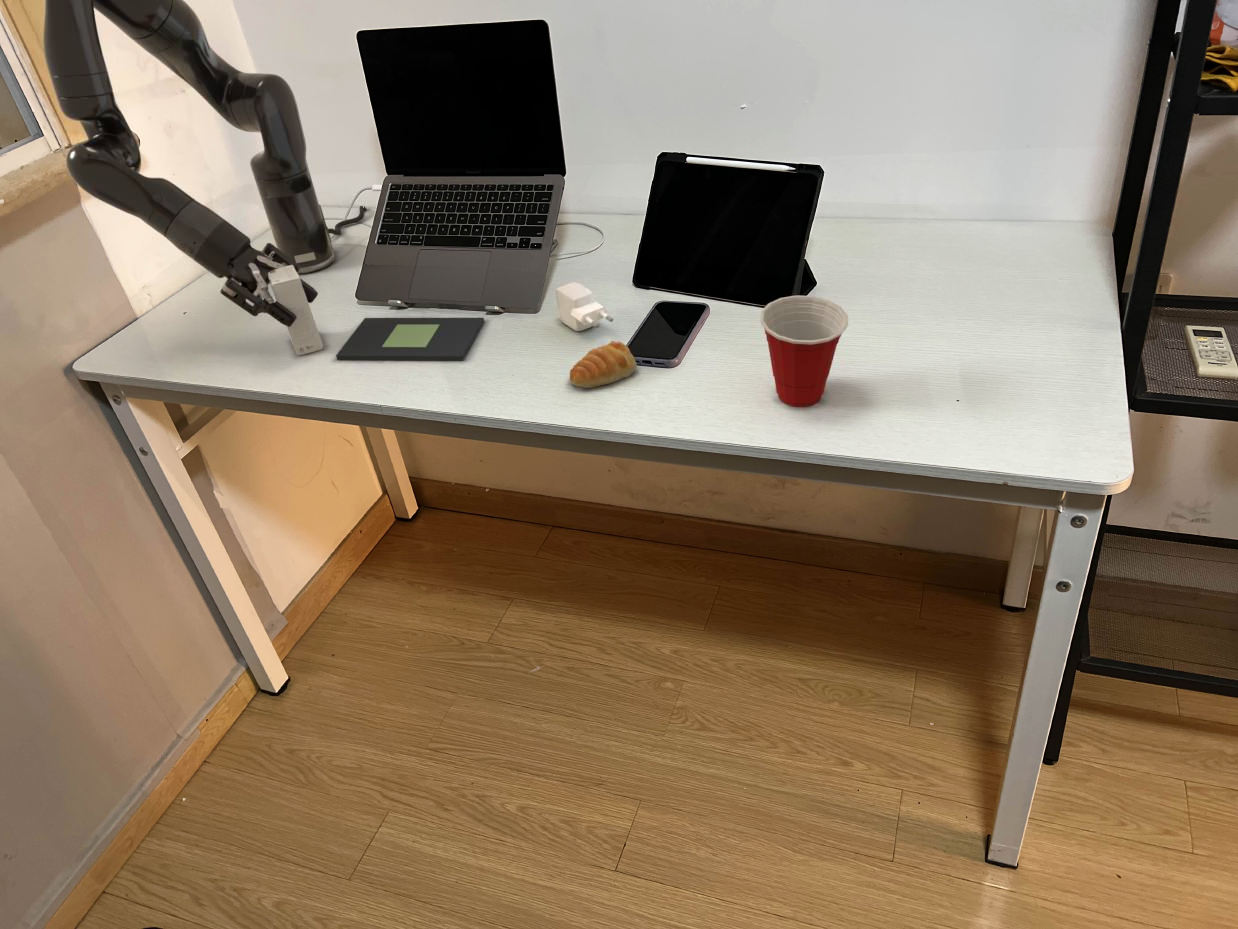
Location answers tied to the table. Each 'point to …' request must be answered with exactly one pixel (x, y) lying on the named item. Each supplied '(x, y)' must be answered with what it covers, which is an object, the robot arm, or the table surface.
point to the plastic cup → (802, 345)
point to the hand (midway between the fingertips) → (304, 309)
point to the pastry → (603, 366)
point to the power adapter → (579, 307)
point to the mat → (411, 339)
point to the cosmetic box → (296, 309)
